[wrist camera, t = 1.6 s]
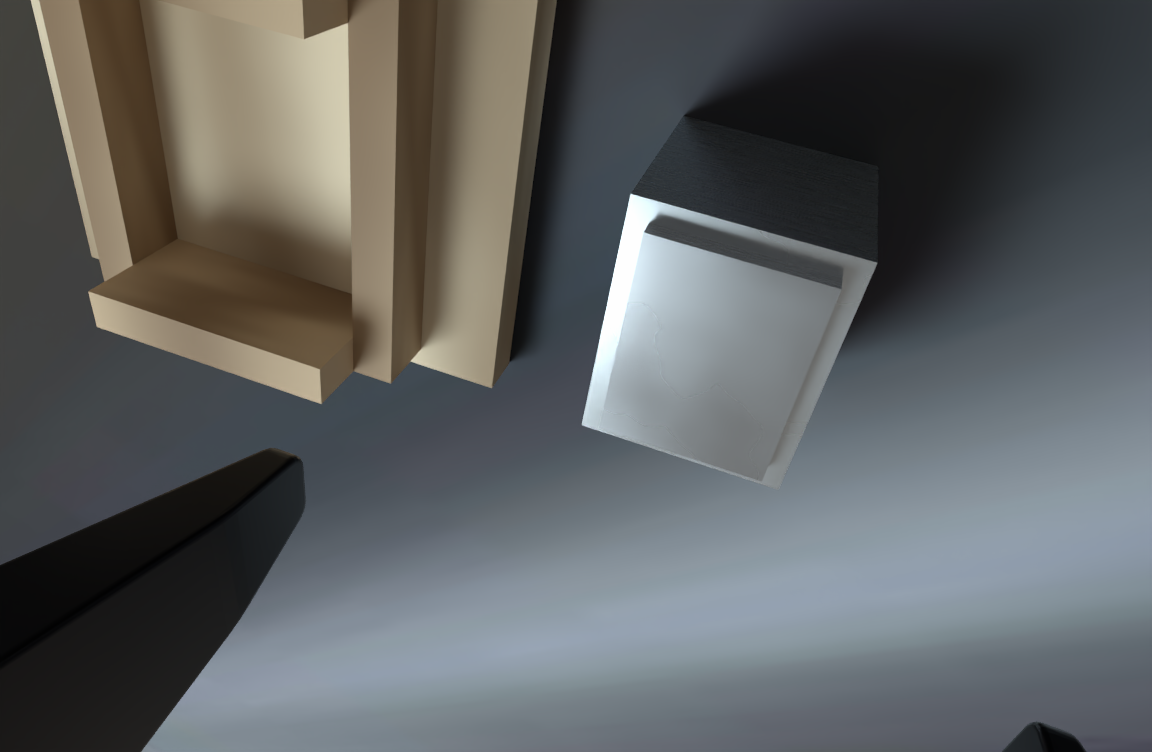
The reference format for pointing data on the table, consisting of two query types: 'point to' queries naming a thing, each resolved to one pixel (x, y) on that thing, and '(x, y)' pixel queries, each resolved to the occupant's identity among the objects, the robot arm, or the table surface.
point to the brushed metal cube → (732, 297)
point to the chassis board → (305, 177)
